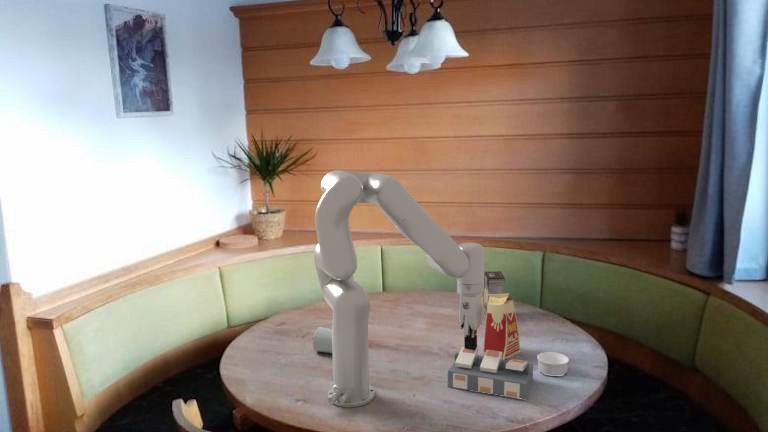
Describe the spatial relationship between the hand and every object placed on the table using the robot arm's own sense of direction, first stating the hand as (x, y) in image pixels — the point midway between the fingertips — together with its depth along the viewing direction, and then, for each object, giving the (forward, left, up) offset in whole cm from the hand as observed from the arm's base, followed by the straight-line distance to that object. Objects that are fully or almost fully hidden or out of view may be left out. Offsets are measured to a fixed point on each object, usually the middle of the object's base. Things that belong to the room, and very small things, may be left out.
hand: (470, 348), depth 165 cm
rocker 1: (-4, 0, -1) cm, 4 cm away
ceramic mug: (+1, +46, -8) cm, 47 cm away
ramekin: (+10, -22, -8) cm, 26 cm away
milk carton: (+18, -5, -8) cm, 21 cm away
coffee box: (+50, +4, -8) cm, 51 cm away
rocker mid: (-4, -7, -1) cm, 8 cm away
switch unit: (-4, -7, -8) cm, 11 cm away
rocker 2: (-4, -14, -1) cm, 14 cm away
